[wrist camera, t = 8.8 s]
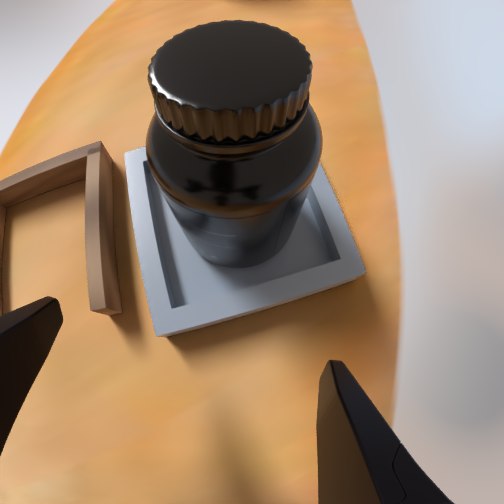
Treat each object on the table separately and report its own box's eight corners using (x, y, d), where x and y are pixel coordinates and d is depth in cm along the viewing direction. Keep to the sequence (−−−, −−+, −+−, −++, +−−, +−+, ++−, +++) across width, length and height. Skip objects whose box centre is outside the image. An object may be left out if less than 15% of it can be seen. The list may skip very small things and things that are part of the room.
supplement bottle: (221, 155, 20) (207, -5, 8) (311, 201, 19) (377, 48, 8) (161, 236, 18) (70, 96, 7) (257, 293, 17) (286, 194, 6)
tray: (353, 280, 18) (366, 272, 16) (165, 337, 17) (156, 336, 15) (290, 129, 22) (294, 111, 20) (133, 169, 20) (124, 153, 18)
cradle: (122, 312, 17) (105, 307, 15) (-4, 332, 16) (-25, 329, 14) (112, 159, 20) (100, 140, 18) (0, 201, 19) (-16, 188, 17)
